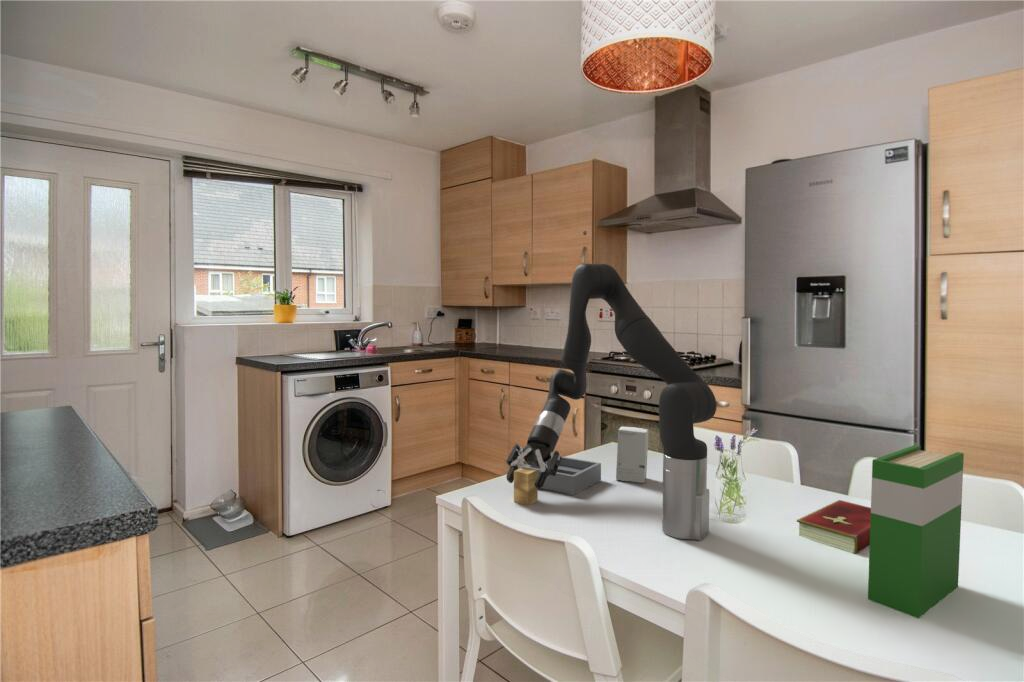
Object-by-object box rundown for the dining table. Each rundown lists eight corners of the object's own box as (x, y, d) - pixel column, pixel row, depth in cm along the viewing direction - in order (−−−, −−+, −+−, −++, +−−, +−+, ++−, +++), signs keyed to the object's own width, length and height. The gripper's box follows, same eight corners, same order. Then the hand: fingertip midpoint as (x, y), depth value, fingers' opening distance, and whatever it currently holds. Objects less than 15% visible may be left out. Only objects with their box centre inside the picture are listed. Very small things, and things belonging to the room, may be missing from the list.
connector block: (537, 500, 147) (537, 469, 146) (528, 505, 143) (528, 473, 143) (523, 497, 149) (523, 467, 149) (513, 501, 146) (513, 471, 145)
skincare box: (615, 480, 163) (616, 429, 162) (619, 475, 169) (619, 425, 168) (645, 483, 160) (646, 431, 160) (648, 477, 166) (648, 427, 165)
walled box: (600, 480, 164) (601, 463, 164) (573, 495, 151) (574, 476, 150) (553, 471, 173) (553, 455, 173) (523, 484, 160) (523, 467, 160)
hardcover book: (896, 531, 127) (896, 512, 127) (856, 556, 114) (856, 536, 114) (838, 515, 136) (839, 498, 136) (796, 537, 124) (796, 518, 123)
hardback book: (909, 571, 107) (914, 444, 105) (958, 586, 101) (963, 453, 99) (867, 599, 97) (872, 459, 95) (918, 618, 91) (924, 470, 89)
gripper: (519, 420, 155) (494, 472, 147) (564, 426, 147) (540, 481, 139) (529, 436, 160) (506, 487, 151) (574, 443, 152) (552, 497, 143)
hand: (522, 484), depth 145 cm, fingers open, 8 cm apart
